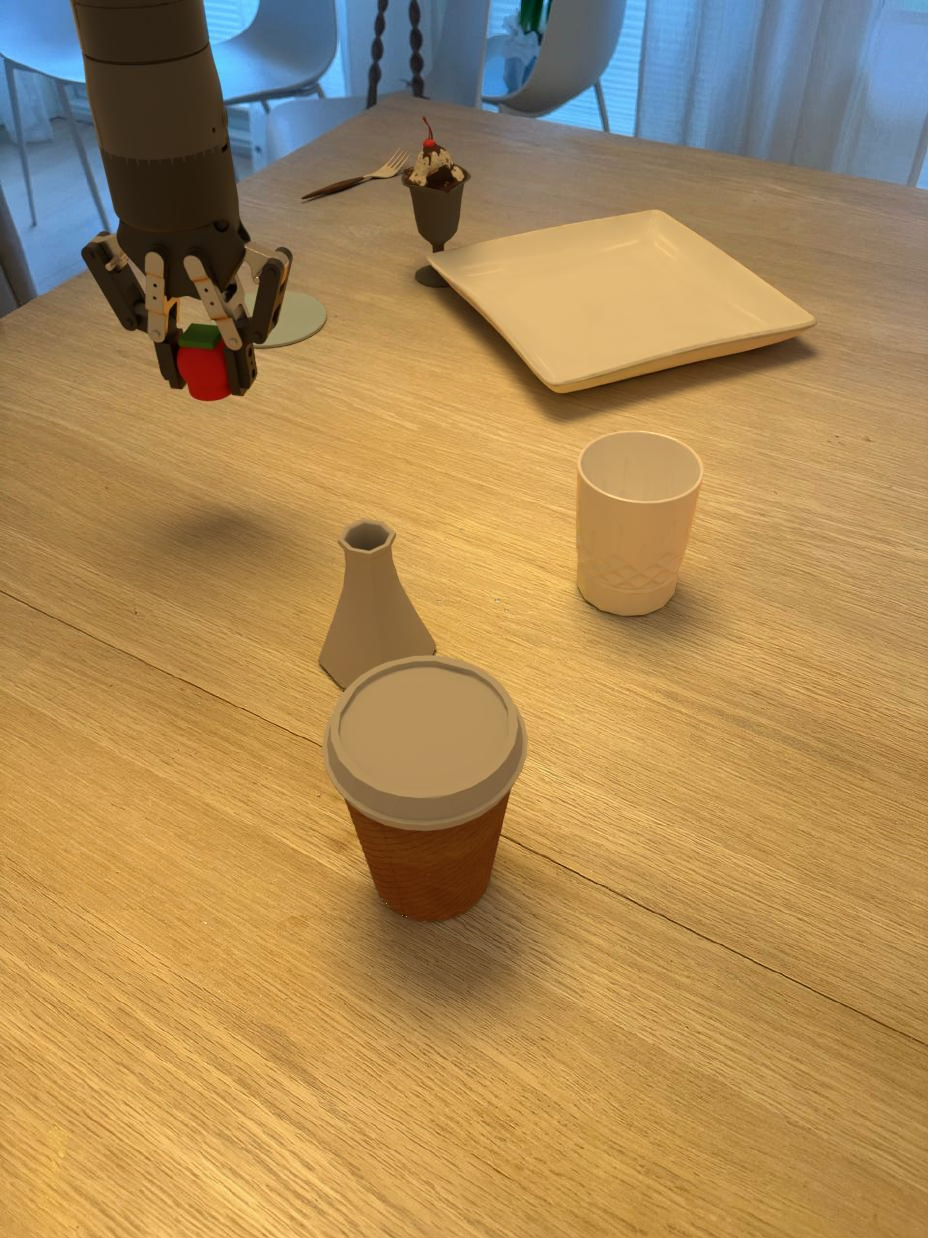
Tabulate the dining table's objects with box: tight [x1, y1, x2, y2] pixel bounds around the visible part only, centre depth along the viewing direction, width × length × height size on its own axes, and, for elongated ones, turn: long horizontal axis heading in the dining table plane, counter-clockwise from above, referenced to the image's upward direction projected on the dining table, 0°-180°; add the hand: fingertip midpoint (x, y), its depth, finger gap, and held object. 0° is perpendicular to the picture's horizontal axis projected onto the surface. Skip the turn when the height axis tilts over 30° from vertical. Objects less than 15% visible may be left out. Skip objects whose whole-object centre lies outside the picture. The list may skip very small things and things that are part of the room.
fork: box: [300, 147, 413, 200], centre depth 125 cm, size 3×16×2 cm, turn 133°
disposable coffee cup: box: [321, 654, 529, 923], centre depth 52 cm, size 10×10×12 cm
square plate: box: [425, 209, 818, 394], centre depth 99 cm, size 27×27×4 cm
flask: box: [317, 517, 437, 689], centre depth 64 cm, size 7×7×10 cm
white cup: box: [575, 429, 705, 617], centre depth 69 cm, size 8×8×10 cm
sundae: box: [400, 115, 472, 288], centre depth 102 cm, size 7×7×15 cm
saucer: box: [210, 290, 328, 349], centre depth 101 cm, size 11×11×1 cm
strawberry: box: [177, 322, 232, 402], centre depth 72 cm, size 4×4×4 cm
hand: (212, 385), depth 73 cm, fingers closed on strawberry, 4 cm apart
